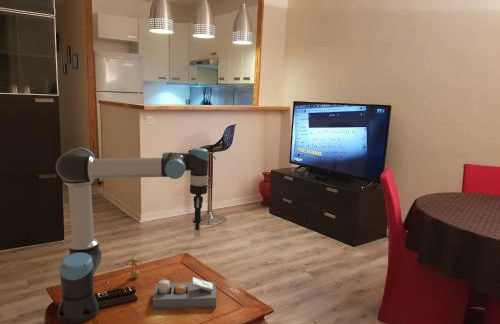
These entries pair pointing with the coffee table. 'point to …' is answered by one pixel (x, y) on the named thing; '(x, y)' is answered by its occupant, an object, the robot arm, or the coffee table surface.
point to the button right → (180, 289)
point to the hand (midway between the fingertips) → (196, 236)
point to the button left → (164, 287)
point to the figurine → (135, 272)
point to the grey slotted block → (184, 298)
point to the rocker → (202, 284)
